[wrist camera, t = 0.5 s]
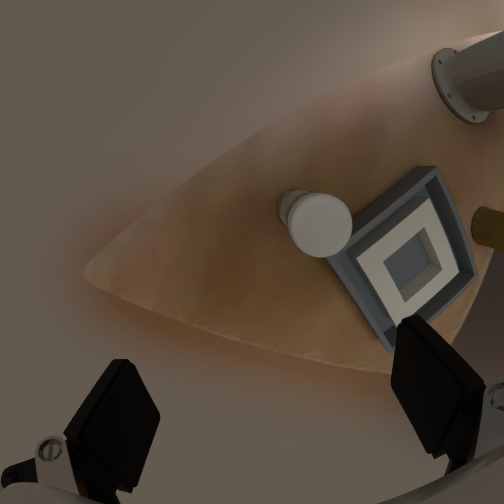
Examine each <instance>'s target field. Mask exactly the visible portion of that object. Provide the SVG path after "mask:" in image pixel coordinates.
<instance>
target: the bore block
mask: <svg viewBox="0 0 504 504" xmlns="http://www.w3.org/2000/svg"><path fill="white" fill-rule="evenodd" d="M416 233H418V235H419V237H420V240H421V242H422V244H423V246H424V248H425V250H426V253H427V255H428V257H429V260H430V262H431V263H430V264H429V265H428V266H427V267H426V268H425V269H424V270H423V271H422V272H420V273H419V274H418V275H417V276H416V277H415V278H413V279H412V280H411V281H410V282H409V283H408V284H406V285H405V286H404V287H403V288H402V289H400V290H399V291H398V289H397V287H396V285H395V283H394V281H393V279H392V277H391V276H390V274H389V272H388V270H387V268H386V267H385V265H384V263H383V261H384V260H386V259H387V258H388V257H389V256H390V255H392V254H393V253H394V252H395V251H397V250H398V249H399V248H400V247H401V246H403V245H404V244H405V243H406V242H407V241H408V240H410V239H411V238H412V237H413V236H414V235H415V234H416ZM348 252H349V254H350V255H351V257H352V258H353V260H354V262H355V263H356V265H357V266H358V268H359V269H360V271H361V273H362V274H363V276H364V277H365V279H366V281H367V282H368V284H369V286H370V287H371V289H372V291H373V292H374V294H375V296H376V297H377V299H378V301H379V302H380V304H381V306H382V307H383V309H384V311H385V313H386V314H387V316H388V318H389V319H390V320H391V321H392V322H393V323H394V325H395V326H396V327H397V326H398V324H399V323H401V320H402V319H403V318H405V317H408V316H411V315H412V314H413V313H415V312H416V311H417V310H418V309H419V308H421V307H422V306H423V305H424V304H425V303H426V302H428V301H429V300H430V299H431V298H432V297H433V296H434V295H435V294H436V293H438V292H439V291H440V290H441V289H442V288H443V287H444V286H445V285H446V284H447V283H448V282H449V281H450V280H451V279H452V278H453V277H455V276H456V275H457V274H458V273H459V270H458V267H457V264H456V261H455V258H454V256H453V253H452V250H451V247H450V245H449V242H448V240H447V237H446V235H445V232H444V230H443V227H442V225H441V223H440V220H439V218H438V216H437V214H436V212H435V209H434V207H433V205H432V203H431V201H430V199H429V198H427V197H421V196H416V197H415V198H413V199H412V200H411V201H410V202H409V203H407V204H406V205H405V206H404V207H403V208H402V209H400V210H399V211H398V212H397V213H396V214H394V215H393V216H392V217H391V218H389V219H388V220H387V221H386V222H385V223H383V224H382V225H381V226H380V227H378V228H377V229H376V230H375V231H373V232H372V233H371V234H370V235H368V236H367V237H366V238H365V239H363V240H362V241H361V242H359V243H358V244H357V245H356V246H354V247H353V248H352V249H350V250H349V251H348Z"/></svg>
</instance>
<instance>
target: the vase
mask: <svg viewBox="0 0 504 504" xmlns="http://www.w3.org/2000/svg"><path fill="white" fill-rule="evenodd" d="M472 235H473V238H474V240H475V242H476V243H477V244H479V245H485V246H488V247H490V248H493V249H496V250H499V251H502V252H504V213H503V212H500V211H496V210H491V209H489V208H487V207H481V208H480V209H478V210H477V212H476V213H475V215H474V218H473V221H472Z"/></svg>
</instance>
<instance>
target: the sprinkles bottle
mask: <svg viewBox="0 0 504 504" xmlns="http://www.w3.org/2000/svg"><path fill="white" fill-rule="evenodd" d="M277 210H278V215H279V217H280V219H281V220H282V221H283V222H284V224H285V226H286V227H287V228H288V230H289V234H290V236H291V238H292V240H293V241H294V243H295V244H296V245H297V247H298V248H299V249H300V250H301V251H303V252H304V253H306V254H307V255H310V256H313V257H329V256H332V255H334V254H336V253H338V252H339V251H340V250H341V249H342V248H344V246H345V245H346V244H347V242H348V241H349V239H350V236H351V232H352V218H351V214H350V212H349V210H348V208H347V207H346V205H345V204H344V203H343V202H342V201H341V200H339V199H338V198H336V197H334V196H332V195H328V194H325V193H313V192H309V191H304V190H302V189H292V190H289V191H287V192H285V193H284V194H283V195H282V196H281V198H280V199H279V201H278V205H277Z"/></svg>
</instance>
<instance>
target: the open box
mask: <svg viewBox="0 0 504 504" xmlns="http://www.w3.org/2000/svg"><path fill="white" fill-rule="evenodd" d="M416 196H421V197H427V198H429V199H430V201H431V203H432V205H433V207H434V209H435V212H436V214H437V216H438V218H439V220H440V223H441V225H442V227H443V230H444V232H445V235H446V237H447V240H448V242H449V245H450V247H451V250H452V253H453V256H454V258H455V261H456V264H457V267H458V270H459V273H458V274H457V275H456V276H455V277H453V278H452V279H451V280H450V281H449V282H448V283H447V284H446V285H445V286H444V287H443V288H442V289H441V290H440V291H439V292H438V293H436V294H435V295H434V296H433V297H432V298H431V299H430V300H429V301H428V302H426V303H425V304H424V305H423V306H422V307H421V308H419V309H418V310H417V311H416V312H415V313H413V314H412V315H415V314H418V315H419V316H421V317H422V318H423V319H424V320H425V321H426V322H427V323H428V324H430V323H431V322H432V321H433V320H434V319H435V318H437V317H438V316H439V315H440V314H441V313H442V312H443V311H444V310H445V309H446V308H448V307H449V306H450V305H451V304H452V303H453V302H454V301H455V300H456V299H457V298H458V297H459V296H460V295H461V294H462V293H463V292H464V291H465V290H466V289H467V288H468V287H469V286H470V285H471V284H472V283H473V282H474V281H475V280H476V279H477V278H478V276H479V275H478V271H477V268H476V264H475V260H474V257H473V254H472V250H471V247H470V244H469V241H468V238H467V235H466V232H465V230H464V227H463V224H462V221H461V219H460V216H459V214H458V211H457V209H456V206H455V204H454V201H453V199H452V197H451V194H450V192H449V190H448V188H447V186H446V183H445V181H444V179H443V177H442V175H441V173H440V171H439V169H438V167H437V166H417V167H416V168H415V169H414V170H413V171H411V172H410V173H409V174H408V175H407V176H405V177H404V178H403V179H402V180H400V181H399V182H398V183H397V184H395V185H394V186H393V187H392V188H390V189H389V190H388V191H387V192H386V193H384V194H383V195H382V196H380V197H379V198H378V199H377V200H375V201H374V202H373V203H372V204H370V205H369V206H368V207H367V208H365V209H364V210H363V211H361V212H360V213H359V214H358V215H356V216H355V217H354V218H352V232H351V236H350V239H349V241H348V242H347V244H346V245H345V246H344V248H342V249H341V250H340V251H339V252H338V253H336V254H334V255H332V256H329V257H324V258H325V259H326V261H327V262H328V263H329V265H330V266H331V268H332V269H333V271H334V272H335V274H336V275H337V276H338V278H339V279H340V281H341V282H342V284H343V285H344V287H345V288H346V290H347V291H348V293H349V294H350V296H351V297H352V299H353V300H354V302H355V303H356V305H357V306H358V308H359V309H360V311H361V312H362V314H363V315H364V317H365V319H366V320H367V322H368V323H369V325H370V326H371V328H372V329H373V331H374V333H375V334H376V336H377V337H378V339H379V340H380V342H381V343H382V345H383V346H384V348H385V349H386V351H387V352H388V354H389V355H390V354H392V353H393V352H395V344H396V334H397V327H396V326H395V325H394V323H393V322H392V321H391V320H390V319H389V318H388V316H387V314H386V313H385V311H384V309H383V307H382V306H381V304H380V302H379V301H378V299H377V297H376V296H375V294H374V292H373V291H372V289H371V287H370V286H369V284H368V282H367V281H366V279H365V277H364V276H363V274H362V273H361V271H360V269H359V268H358V266H357V265H356V263H355V262H354V260H353V258H352V257H351V255H350V254H349V252H348V251H349V250H350V249H352V248H353V247H354V246H356V245H357V244H358V243H359V242H361V241H362V240H363V239H365V238H366V237H367V236H368V235H370V234H371V233H372V232H373V231H375V230H376V229H377V228H378V227H380V226H381V225H382V224H383V223H385V222H386V221H387V220H388V219H389V218H391V217H392V216H393V215H394V214H396V213H397V212H398V211H399V210H400V209H402V208H403V207H404V206H405V205H406V204H407V203H409V202H410V201H411V200H412V199H413V198H415V197H416ZM383 263H384V265H385V267H386V268H387V270H388V272H389V274H390V276H391V277H392V279H393V281H394V283H395V285H396V287H397V289H398V291H399V290H400V289H402V288H403V287H404V286H405V285H406V284H408V283H409V282H410V281H411V280H412V279H413V278H415V277H416V276H417V275H418V274H419V273H420V272H422V271H423V270H424V269H425V268H426V267H427V266H428V265H429V264H430V263H431V262H430V260H429V257H428V255H427V253H426V250H425V248H424V246H423V244H422V242H421V240H420V237H419V235H418V233H416V234H415V235H414V236H413V237H412V238H411V239H410V240H408V241H407V242H406V243H405V244H404V245H403V246H401V247H400V248H399V249H398V250H397V251H395V252H394V253H393V254H392V255H390V256H389V257H388V258H387V259H386V260H384V261H383ZM412 315H411V316H412Z"/></svg>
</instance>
